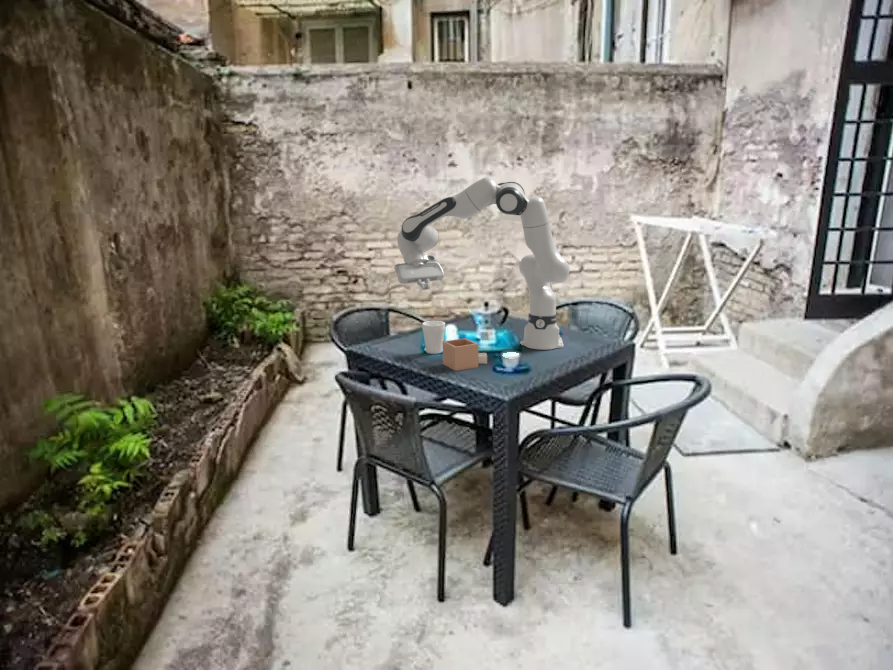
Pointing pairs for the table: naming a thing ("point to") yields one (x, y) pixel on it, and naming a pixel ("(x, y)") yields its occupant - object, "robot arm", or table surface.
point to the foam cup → (433, 336)
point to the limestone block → (482, 358)
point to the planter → (460, 354)
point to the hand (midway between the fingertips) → (426, 288)
